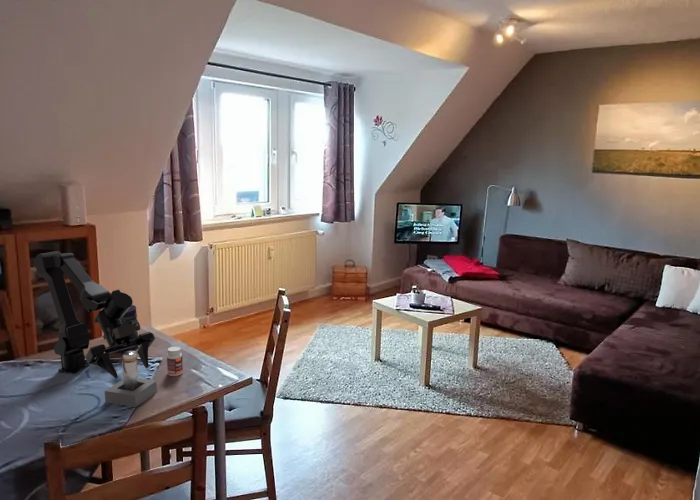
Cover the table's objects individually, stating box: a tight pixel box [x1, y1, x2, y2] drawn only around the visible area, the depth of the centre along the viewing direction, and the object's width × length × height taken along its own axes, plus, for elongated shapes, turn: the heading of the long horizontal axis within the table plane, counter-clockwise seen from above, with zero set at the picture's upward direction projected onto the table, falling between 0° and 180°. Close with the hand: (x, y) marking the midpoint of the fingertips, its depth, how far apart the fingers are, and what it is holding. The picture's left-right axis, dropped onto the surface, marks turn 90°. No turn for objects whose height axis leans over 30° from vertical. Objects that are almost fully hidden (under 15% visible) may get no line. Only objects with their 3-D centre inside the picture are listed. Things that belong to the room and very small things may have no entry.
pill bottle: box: [166, 346, 184, 377], centre depth 171 cm, size 5×5×8 cm
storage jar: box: [112, 304, 139, 354], centre depth 190 cm, size 10×10×15 cm
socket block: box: [104, 377, 158, 408], centre depth 155 cm, size 10×10×4 cm
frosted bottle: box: [121, 350, 139, 391], centre depth 154 cm, size 4×4×13 cm
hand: (132, 372), depth 153 cm, fingers open, 9 cm apart
